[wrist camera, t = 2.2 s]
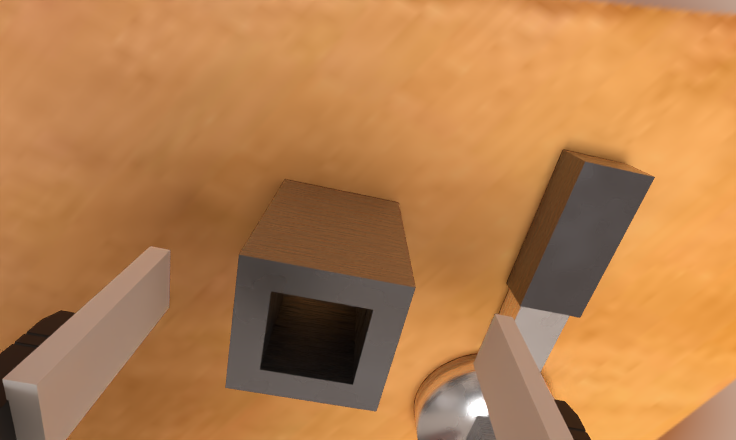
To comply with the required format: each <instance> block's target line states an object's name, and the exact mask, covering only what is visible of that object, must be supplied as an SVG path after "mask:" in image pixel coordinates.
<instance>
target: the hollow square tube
mask: <svg viewBox="0 0 736 440" xmlns="http://www.w3.org/2000/svg"><path fill="white" fill-rule="evenodd" d="M415 288H416V287H415V282H414V277H413V272H412V267H411V262H410V257H409V252H408V247H407V242H406V237H405V232H404V227H403V222H402V217H401V212H400V207H399V203H398V202H393V201H388V200H383V199H378V198H374V197H369V196H364V195H359V194H354V193H349V192H344V191H340V190H335V189H330V188H325V187H320V186H315V185H310V184H306V183H301V182H296V181H291V180H286V179H285V180H284V182H283V183H282V185H281V187H280V188H279V190H278V191H277V193H276V195H275V196H274V198H273V200H272V201H271V203H270V205H269V206H268V208H267V210H266V211H265V213H264V214H263V216H262V218H261V219H260V221H259V223H258V224H257V226H256V228H255V229H254V231H253V232H252V234H251V236H250V237H249V239H248V241H247V242H246V244H245V246H244V247H243V249H242V250H241V252H240V254H239V259H238V269H237V279H236V289H235V299H234V308H233V318H232V328H231V338H230V348H229V357H228V367H227V377H226V387H225V388H230V389H237V390H243V391H249V392H256V393H262V394H269V395H275V396H281V397H288V398H294V399H300V400H307V401H313V402H319V403H326V404H332V405H338V406H345V407H351V408H357V409H364V410H370V411H377V408H378V405H379V401H380V398H381V395H382V392H383V389H384V386H385V383H386V379H387V376H388V373H389V370H390V367H391V364H392V360H393V357H394V354H395V351H396V348H397V345H398V341H399V338H400V335H401V332H402V329H403V326H404V322H405V319H406V316H407V313H408V310H409V307H410V304H411V300H412V297H413V294H414V291H415Z"/></svg>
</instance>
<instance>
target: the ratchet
mask: <svg viewBox="0 0 736 440" xmlns="http://www.w3.org/2000/svg"><path fill="white" fill-rule="evenodd" d="M654 178H655V177H654V176H651V175H649V174H647V173H645V172H643V171H641V170H638V169H636V168H634V167H632V166H630V165H628V164H625V163H620V162H616V161H611V160H607V159H603V158H598V157H594V156H589V155H585V154H581V153H576V152H572V151H567V150H563V151H562V154H561V156H560V158H559V161H558V163H557V165H556V168H555V170H554V172H553V175H552V177H551V180H550V182H549V184H548V187H547V189H546V191H545V194H544V196H543V198H542V201H541V203H540V206H539V208H538V210H537V213H536V215H535V217H534V220H533V222H532V225H531V227H530V229H529V232H528V234H527V236H526V239H525V241H524V243H523V246H522V248H521V251H520V253H519V255H518V258H517V260H516V262H515V265H514V267H513V269H512V272H511V274H510V277H509V279H508V281H507V285H508V287H509V288H510V289H509V291H508V294H507V296H506V298H505V301H504V303H503V305H502V308H501V310H500V312H499V315H504V316H509V317H513V319H514V321H515V323H516V325H517V327H518V329H519V331H520V333H521V335H522V337H523V339H524V341H525V343H526V345H527V347H528V349H529V351H530V353H531V355H532V357H533V359H534V361H535V363H536V365H537V367H538V369H539V371H540V372H541V370H542V368H543V366H544V364H545V362H546V360H547V358H548V356H549V354H550V352H551V350H552V349H553V347H554V345H555V343H556V341H557V339H558V337H559V335H560V333H561V331H562V329H563V327H564V325H565V323H566V321H567V320H568V318H569V316H574V317H581V315H582V313H583V311H584V309H585V308H586V306H587V304H588V302H589V300H590V298H591V296H592V294H593V293H594V291H595V289H596V287H597V285H598V283H599V281H600V279H601V277H602V276H603V274H604V272H605V270H606V268H607V266H608V264H609V262H610V261H611V259H612V257H613V255H614V253H615V251H616V249H617V247H618V246H619V244H620V242H621V240H622V238H623V236H624V234H625V232H626V230H627V229H628V227H629V225H630V223H631V221H632V219H633V217H634V215H635V214H636V212H637V210H638V208H639V206H640V204H641V202H642V200H643V199H644V197H645V195H646V193H647V191H648V189H649V187H650V185H651V183H652V182H653V180H654ZM476 357H477V354H474V355H468V356H464V357H461V358H458V359H455V360H453V361H450V362H448V363H446V364H445V365H443V366H441V367H440V368H438V369H437V370H435V371H434V372H433V373H432V374H431V375H429V376H428V377H427V379H426V380H425V381H424V382H423V383H422V385H421V386H420V388H419V390H418V392H417V394H416V398H415V402H414V413H415V421H416V429H417V437H418V440H496V437H495V434H494V431H493V427H492V424H491V421H490V417H489V414H488V411H487V408H486V404H485V401H484V398H483V394H482V391H481V388H480V384H479V381H478V378H477V375H476V371H475V368H474V365H473V364H474V361H475V359H476ZM543 379H544V378H543ZM544 381H545V380H544ZM545 383H546V382H545ZM546 385H547V384H546ZM547 387H548V386H547ZM548 389H549V387H548ZM549 391H550V389H549ZM550 393H551V391H550ZM551 395H552V393H551ZM552 397H553V395H552ZM553 399H554V397H553Z"/></svg>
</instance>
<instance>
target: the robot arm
mask: <svg viewBox="0 0 736 440" xmlns="http://www.w3.org/2000/svg"><path fill="white" fill-rule="evenodd" d="M169 301H170V250H168V249H163V248H158V247H153V246H150V247H149V248H148V249H147V250H145V251H144V252H143V253H142V254H141V255H140V256H139V257H138V258H137V259H135V260H134V261H133V262H132V263H131V264H130V265H129V266H128V267H126V268H125V269H124V270H123V271H122V272H121V273H120V274H119V275H118V276H116V277H115V278H114V279H113V280H112V281H111V282H110V283H109V284H108V285H106V286H105V287H104V288H103V289H102V290H101V291H100V292H99V293H98V294H96V295H95V296H94V297H93V298H92V299H91V300H90V301H89V302H88V303H86V304H85V305H84V306H83V307H82V308H81V309H80V310H79V311H78V312H76V313H72V312H67V311H59V312H57V313H55V314H53V315H50V316H48V317H46V318H44V319H42V320H41V321H39V322H38V323H37V324H36V325H35V326H33V327H32V328H31V329H30V330H29V331H27V334H24V335H23V336H21V337H20V338H19V339H18V340H16V341H15V344H12V345H10V346H9V347H8V348H7V349H6V350H4V351H3V352H2V353H1V354H0V440H66V439H67V438H68V436H69V435H70V434H71V433H72V431H73V430H74V429H75V427H76V426H77V425H78V424H79V422H80V421H81V420H82V418H83V417H84V416H85V415H86V413H87V412H88V411H89V410H90V408H91V407H92V406H93V404H94V403H95V402H96V401H97V399H98V398H99V397H100V395H101V394H102V393H103V392H104V390H105V389H106V388H107V387H108V385H109V384H110V383H111V381H112V380H113V379H114V378H115V376H116V375H117V374H118V372H119V371H120V370H121V369H122V367H123V366H124V365H125V363H126V362H127V361H128V360H129V358H130V357H131V356H132V355H133V353H134V352H135V351H136V349H137V348H138V347H139V346H140V344H141V343H142V342H143V340H144V339H145V338H146V337H147V335H148V334H149V333H150V332H151V330H152V329H153V328H154V326H155V325H156V324H157V323H158V321H159V320H160V319H161V317H162V316H163V315H164V314H165V312H166V311H167V310H168V309H169ZM473 365H474V368H475V371H476V375H477V378H478V381H479V384H480V388H481V391H482V394H483V398H484V401H485V404H486V408H487V411H488V414H489V417H490V421H491V424H492V427H493V431H494V434H495V437H496V440H591V439H590V437H589V435H588V434H587V433H586V432H585V428H584V426H583V424H582V422H581V421H580V419H579V417H578V415H577V414H576V413H575V412H574V411H573V410H572V409H571V407H570V406H569V405H568V404H567V403H566V402H565V401H560V400H555V399H553V397H552V395H551V393H550V391H549V389H548V387H547V385H546V383H545V381H544V379H543V377H542V375H541V373H540V371H539V369H538V367H537V365H536V363H535V361H534V359H533V357H532V355H531V353H530V351H529V349H528V347H527V345H526V343H525V341H524V339H523V337H522V335H521V333H520V331H519V329H518V327H517V325H516V323H515V321H514V319H513V317H509V316H504V315H499V314H495V315H494V317H493V319H492V322H491V324H490V326H489V329H488V331H487V333H486V336H485V338H484V340H483V343H482V345H481V347H480V350H479V352H478V354H477V357H476V359H475V361H474V364H473Z"/></svg>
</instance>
